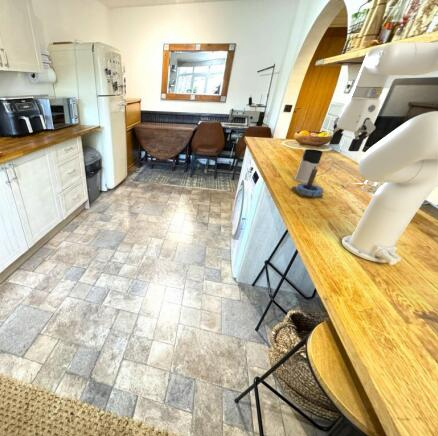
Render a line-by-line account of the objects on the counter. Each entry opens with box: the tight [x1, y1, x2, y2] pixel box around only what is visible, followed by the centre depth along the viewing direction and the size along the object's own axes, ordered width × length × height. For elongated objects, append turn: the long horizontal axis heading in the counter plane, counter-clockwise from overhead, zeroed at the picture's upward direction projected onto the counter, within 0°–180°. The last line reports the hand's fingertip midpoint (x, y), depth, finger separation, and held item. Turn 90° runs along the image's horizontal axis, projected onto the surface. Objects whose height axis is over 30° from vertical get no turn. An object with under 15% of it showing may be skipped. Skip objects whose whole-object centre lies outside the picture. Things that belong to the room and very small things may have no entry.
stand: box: [291, 168, 324, 199], centre depth 107 cm, size 9×9×12 cm
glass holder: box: [293, 148, 335, 184], centre depth 119 cm, size 9×14×15 cm, turn 38°
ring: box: [295, 182, 324, 196], centre depth 107 cm, size 10×10×2 cm
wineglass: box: [343, 177, 383, 193], centre depth 112 cm, size 7×7×12 cm
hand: (343, 147), depth 85 cm, fingers open, 9 cm apart
